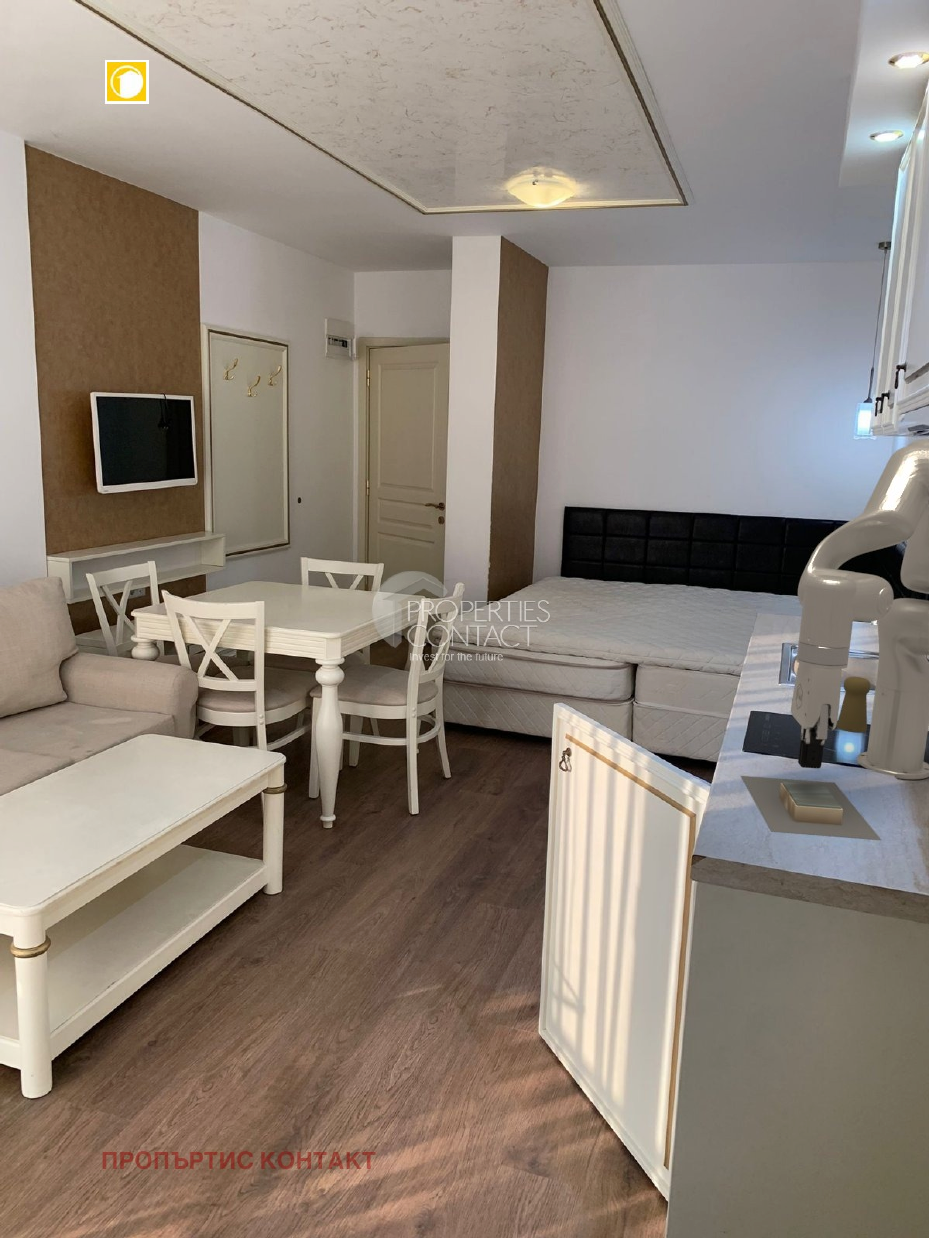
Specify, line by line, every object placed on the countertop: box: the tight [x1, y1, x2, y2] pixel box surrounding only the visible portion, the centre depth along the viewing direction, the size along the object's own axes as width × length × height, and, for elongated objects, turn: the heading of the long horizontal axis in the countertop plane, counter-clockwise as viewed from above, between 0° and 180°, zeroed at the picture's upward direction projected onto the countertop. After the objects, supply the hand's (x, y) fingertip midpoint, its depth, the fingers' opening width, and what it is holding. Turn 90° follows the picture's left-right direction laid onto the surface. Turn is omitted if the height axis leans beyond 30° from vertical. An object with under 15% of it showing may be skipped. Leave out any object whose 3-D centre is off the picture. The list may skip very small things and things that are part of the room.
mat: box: [740, 775, 882, 841], centre depth 151 cm, size 24×16×1 cm, turn 174°
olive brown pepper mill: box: [836, 676, 871, 734], centre depth 196 cm, size 6×6×11 cm
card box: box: [779, 782, 843, 825], centre depth 148 cm, size 3×7×10 cm
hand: (809, 766), depth 150 cm, fingers closed
